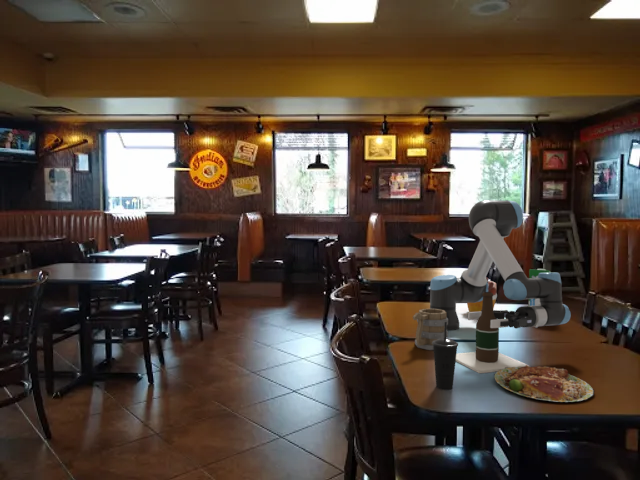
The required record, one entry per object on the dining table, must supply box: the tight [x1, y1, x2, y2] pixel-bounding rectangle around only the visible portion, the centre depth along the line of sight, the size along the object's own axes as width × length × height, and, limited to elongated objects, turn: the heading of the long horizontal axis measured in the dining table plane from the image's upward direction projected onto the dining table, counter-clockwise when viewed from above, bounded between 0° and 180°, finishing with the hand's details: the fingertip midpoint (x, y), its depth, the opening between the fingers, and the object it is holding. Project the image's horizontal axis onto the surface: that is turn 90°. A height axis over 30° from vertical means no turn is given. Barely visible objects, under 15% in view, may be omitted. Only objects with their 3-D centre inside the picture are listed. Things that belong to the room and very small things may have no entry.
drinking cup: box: [432, 322, 459, 391], centre depth 153 cm, size 8×8×20 cm
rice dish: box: [494, 364, 595, 403], centre depth 154 cm, size 28×28×5 cm
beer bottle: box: [475, 292, 500, 363], centre depth 178 cm, size 8×8×24 cm
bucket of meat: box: [466, 276, 498, 312], centre depth 265 cm, size 20×16×20 cm
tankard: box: [412, 308, 449, 351], centre depth 197 cm, size 20×13×15 cm, turn 135°
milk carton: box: [527, 268, 551, 306], centre depth 252 cm, size 9×9×25 cm
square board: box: [455, 351, 531, 374], centre depth 179 cm, size 20×20×1 cm
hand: (479, 319), depth 177 cm, fingers open, 12 cm apart
